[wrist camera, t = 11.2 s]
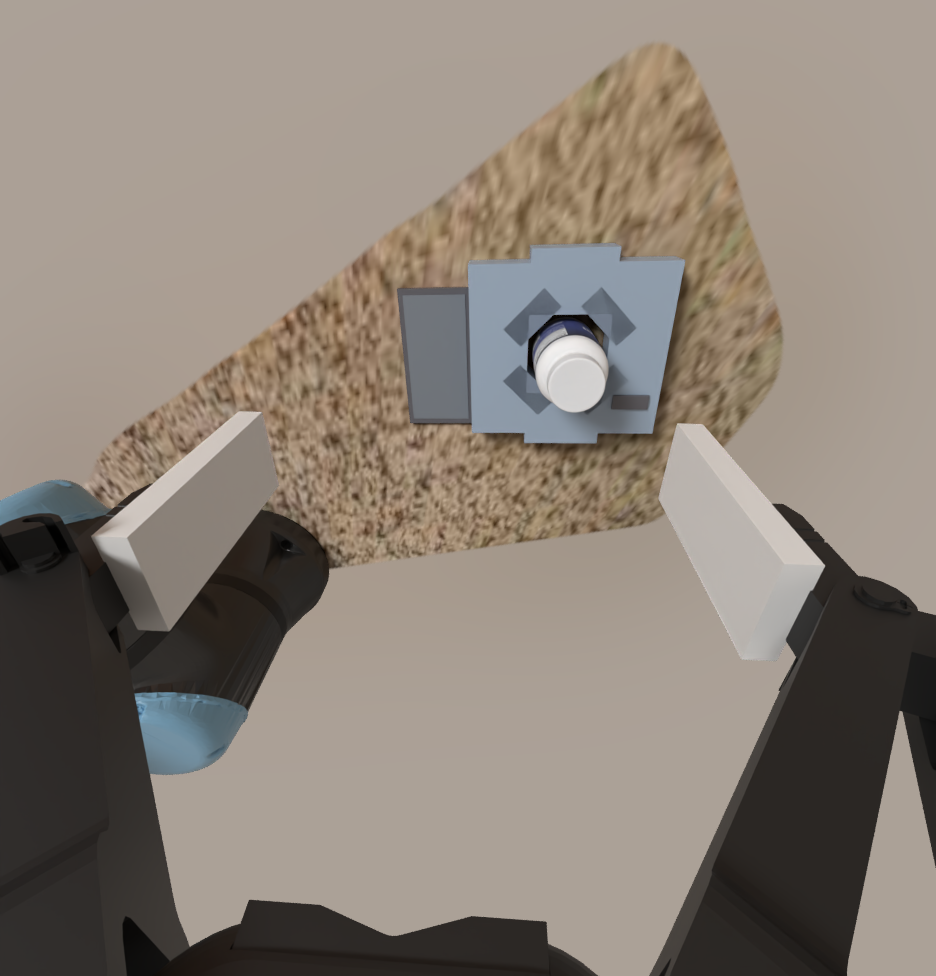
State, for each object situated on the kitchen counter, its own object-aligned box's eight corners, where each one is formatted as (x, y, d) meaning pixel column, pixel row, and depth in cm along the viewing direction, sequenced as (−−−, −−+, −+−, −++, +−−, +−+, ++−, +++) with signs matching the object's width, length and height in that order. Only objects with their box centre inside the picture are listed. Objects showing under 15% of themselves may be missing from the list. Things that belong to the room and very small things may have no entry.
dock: (473, 430, 47) (472, 443, 44) (469, 246, 38) (467, 250, 36) (643, 431, 46) (651, 445, 43) (677, 241, 37) (689, 245, 35)
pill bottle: (607, 352, 42) (631, 392, 34) (555, 389, 44) (567, 436, 36) (571, 301, 40) (588, 331, 32) (519, 343, 42) (522, 381, 34)
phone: (473, 418, 47) (472, 423, 46) (412, 418, 47) (410, 423, 46) (470, 285, 40) (469, 287, 40) (399, 286, 41) (396, 289, 40)
